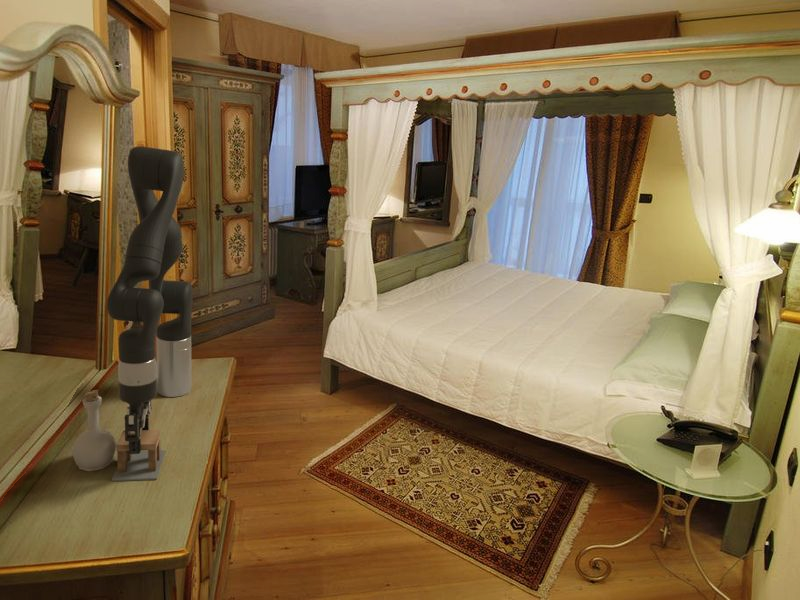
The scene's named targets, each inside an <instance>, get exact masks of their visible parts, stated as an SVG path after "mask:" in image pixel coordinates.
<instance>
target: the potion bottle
mask: <svg viewBox="0 0 800 600" xmlns="http://www.w3.org/2000/svg"><path fill="white" fill-rule="evenodd" d="M102 399H103V398H102V397H101V396H100V395H99V389H95V390H94V389H93V390H89V391H88V392H85V393H84V398H82V400H81V401H82V405H83V407H84V409H86V413H87V414H86V415H87V430H85V431H83V432H82V433H80V434H79V435H78V436H77V437H76V439H75V440H74V442H73V444H72V448H71V454H72V457H73V460H74V463H75V464H76V466H78V468H79V470H81V471H85V472H90V473H91V472H95V471H101V470H103V469H105V468H107V467H109V466H110V465H111V464H112V461H113V460H114V457H115V454H116V444H117V442H116V440H115V439H116V438H115V437H114V436H113V435H112V433H110V431H109V430H107V429H105V428H100V417H99V414H100V413H99V408H100V407H101V405H102Z"/></svg>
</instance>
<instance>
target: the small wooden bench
mask: <svg viewBox="0 0 800 600" xmlns="http://www.w3.org/2000/svg"><path fill="white" fill-rule="evenodd" d="M134 433H135V432H134V431H132V432H131V434H134ZM161 436H162V429H149V430H141V451H148V471H156V469H157V460H160V457H161V454H160V450H161ZM115 452H117V455H116V456H117V467H118V472H126V470H127V461H130V460H131V458H132V454H130V453H129V441H125V430H122V432H121V434H120V436H119V438H118V440H117V442H116V450H115Z"/></svg>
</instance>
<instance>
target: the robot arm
mask: <svg viewBox="0 0 800 600" xmlns="http://www.w3.org/2000/svg"><path fill="white" fill-rule="evenodd" d="M127 170H128V172H127V173H128V177H129V181H130V186H131V189H132V192H133V197H134V201H135V205H136V208H137V209H136V210H137V214H138V220H139V222H138V225H136V226H135V227H134V229H133V230H132V231H131V233H130V236H129V239H128V242H127V247H126V251H125V257H124V263H123V267H122V268H121V271H120V273H119V275H118V278H117V279H116V281H115V283H114V285H113V286H112V288H111V290H110V292H109V294H108V297H107V300H106V310H107V313H108V315H109V316H110V318H112V319H113V320H116V321H122V322H139V323H142V326H141V327H135V328H129V329H126V330H124V331H122V332H121V333H120V334H119V335H118V339H117V340H118V341H117V342H118V345H117V346H118V364H117V365H118V366H117V377H118V379H117V380H118V397H119V399H120V401H121V402H124V403H126V404H128V405H129V406H127V407H126V414H125V415H124V431H125V441H129V453H130V454H139V453H140V452H141V451H142V450H141V430H150V419H149V417H150V416H151V411H152V408H153V407H152V400H153V399H155V397H156V396H157V395H158V394H159V395H160V396H162V397H167V398H174V397H175V398H177V397H181V396H184V395H185V396H186V395H187V394H189V393H191V390H192V310H193V299H194V298H193V297H194V296H193V295H194V294H193V293H194V292H193V286H192V284H191V282H189V281H186V280H185V281H184V280H164V277H165V276H166V274H167V272H169V270H170V269H171V268H172V267H173V266H174V265H175V264H176V263H177V262H178V260H179V259H180V257H181V256H182V253H183V237H182V230H181V227H180V225H179V223H178V221H177V220H176V218H174V213H175V210H176V207H177V204H178V200H179V196H180V193H181V190H182V186H183V181H184V178H185V163H184V159H183V156H182V154H181V153H180V152H179V151H174V150H169V149H161V148H155V147H148V146H134V147H132V148H131V150H130V151H129V153H128V157H127ZM154 191H158V192H162V194H161V196H160V197H159V199H158V198H157V196H156V194H155V192H154ZM146 281H148V288H142V287H136V286H137V284H138V283H141V282H146ZM162 314H167V315H169V314H170V315H171V314H172V315H174V314H175V315H178V316H177V317H176V318H173V319H170V320H168V321H165V322H161V323H160V319H161V318H162V317H161V316H162ZM132 431H134V432H135V433H134V434H131V432H132Z"/></svg>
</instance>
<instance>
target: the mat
mask: <svg viewBox="0 0 800 600" xmlns="http://www.w3.org/2000/svg"><path fill="white" fill-rule="evenodd" d="M166 452H167V451H166V450H161V449H160V454H161V457H160V460H157V469H156V471H148V450H141V452H140V453H139V454H132V458H131V460H130V461H127V470H126V472H118V466H117V468H116V469H115V472H114V474H113V475H112V479H111V482H130V481H131V482H132V481H134V482H135V481H150V480H151V481H156V480H157V479H158V477H159V474H160V470H161V467H162V464H163V461H164V458H165V455H166Z"/></svg>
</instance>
